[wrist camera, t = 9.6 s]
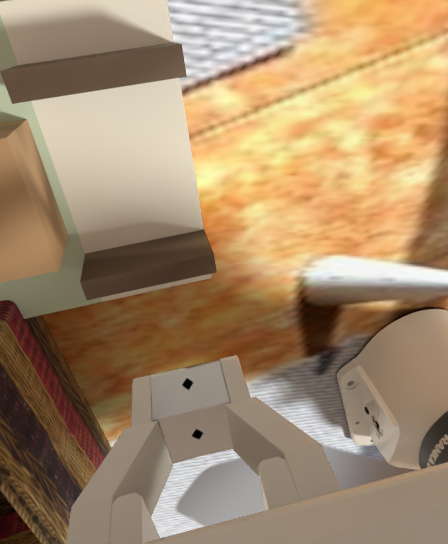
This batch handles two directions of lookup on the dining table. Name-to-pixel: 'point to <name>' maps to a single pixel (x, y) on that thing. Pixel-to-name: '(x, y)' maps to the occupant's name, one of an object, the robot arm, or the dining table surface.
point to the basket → (41, 433)
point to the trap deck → (100, 141)
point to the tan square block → (27, 208)
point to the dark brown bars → (105, 75)
